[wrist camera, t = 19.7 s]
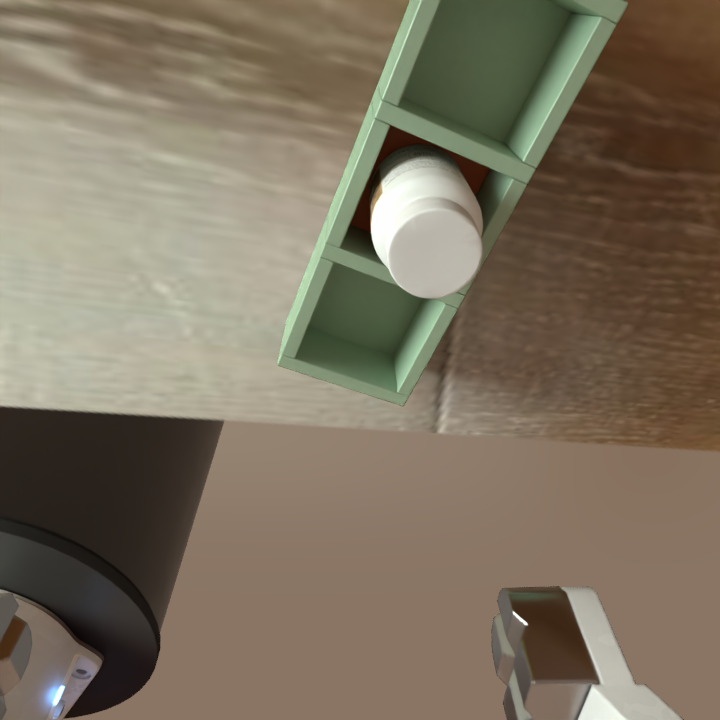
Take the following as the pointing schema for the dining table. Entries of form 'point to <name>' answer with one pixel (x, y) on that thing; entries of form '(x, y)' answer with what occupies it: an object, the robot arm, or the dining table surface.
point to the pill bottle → (425, 221)
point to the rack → (464, 145)
